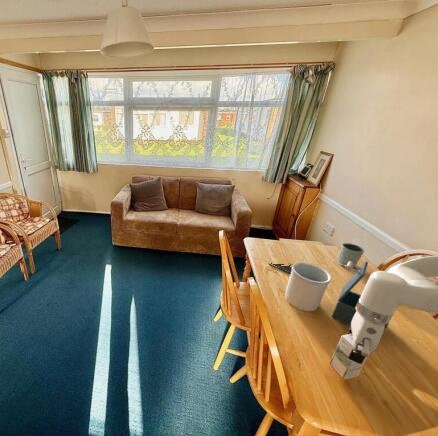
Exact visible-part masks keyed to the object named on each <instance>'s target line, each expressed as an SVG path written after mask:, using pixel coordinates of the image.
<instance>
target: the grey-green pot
mask: <svg viewBox="0 0 438 436" xmlns="http://www.w3.org/2000/svg"><path fill="white" fill-rule="evenodd" d="M364 253H365V248H363V247H361V246H360V245H357V244H355V243H350V242H349V243H348V242H344V243H342V244H341V248H340V251H339V253H338V254H339V255H338V257H337V260H338V261H339V262H340V263H341V264H343V265H346V266H347V263H348V262H349V261H351V262H353V264H355V265H357V266H358V262H359V260H360V259H361V258H362V256H363V254H364ZM352 267H354V266H352Z"/></svg>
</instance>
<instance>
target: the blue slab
mask: <svg viewBox="0 0 438 436" xmlns="http://www.w3.org/2000/svg"><path fill="white" fill-rule="evenodd" d="M368 264H369V261H364V263H362V264H361V266H359V265H358V264H357V265H355V264H353V262H351V261H349V262H348V263H347V266H346V268H345V269H346V270H347V271H352V272H354V274H353V275H352V276H351V277H350V279H349V280H348V281H347V282H346V283H345V285H343V286H342V289H341V291H340V294H339V296H338V299H337V302H338V301H339V302H340V301H341V300H342V299H343V298H344V297H345V296H346V295H347V294H348V293H349V292H350V291H352V290H353V289H354V288H355V286H356V285H358V283H359V282H360V281H362V279H363V278H364V277H365V275H366V271H367V268H368ZM352 266H354V267H355V268H356V269H355V268H352Z"/></svg>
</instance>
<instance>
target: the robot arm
mask: <svg viewBox="0 0 438 436" xmlns="http://www.w3.org/2000/svg"><path fill="white" fill-rule="evenodd" d="M435 277H438V255H429V256H422V257H417V258H413V259H410V260H407V261H404V262H401V263H398V264H396V265H394V266H392V267H390V268H389V269H388V270H387V271H386V270H385V271H384V270H377V271H374V272H372V273H371V274H370V276H369V278H368V279H367V281H366V284H365V286H364V288H363V291H362V292H361V294H360V295H361V297H360V299H359V301H358V303H357V305H356V313H355V315H354V317H353V319H352V322H351V326H349V329H348V331H347V333H346V335H347V334H352V336H353V341H354V343H355V347H354V349H352V351H351V353H350V355H349V356H348V359H350V360H352V361H354V362H357V363H359V364H362V362H363V361H364V359H365V357H367V356H368V355H369V348H370V350H372V351H371V352H374V351H376V349H378V348H377V347H378V345H379V344H380V341H381V339H382V337H383V334H384V333H383V331H384V328H385V324H388V323H389V324H390V322H391V320H392V318H393V316H394V314H395V313H396V311H397V309H398V307H399V306H404V307H407V308H411V309H414V310H417V311H420V312H425V313H435V314H437V313H438V285H437V283H435V282H433V280H431V279H430V278H435ZM389 324H388V325H389ZM384 332H385V331H384ZM360 342H363V344H361V343H360ZM358 346H362V350H358ZM369 356H370V355H369ZM369 356H368V357H369Z"/></svg>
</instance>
